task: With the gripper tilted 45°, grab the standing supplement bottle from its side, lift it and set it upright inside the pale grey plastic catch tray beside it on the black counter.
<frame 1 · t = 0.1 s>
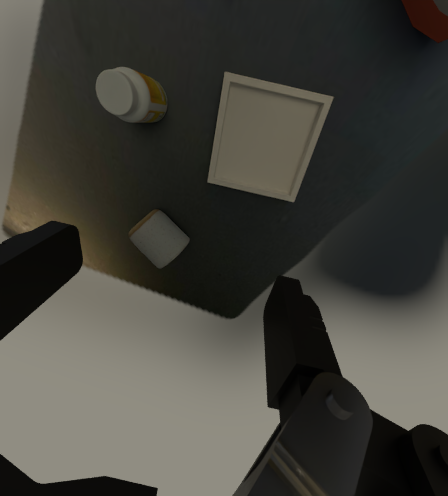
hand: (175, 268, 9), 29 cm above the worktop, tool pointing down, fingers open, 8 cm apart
ceramic mug: (163, 233, 43), on the worktop
supplement bottle: (150, 100, 32), on the worktop
catch tray: (262, 142, 33), on the worktop
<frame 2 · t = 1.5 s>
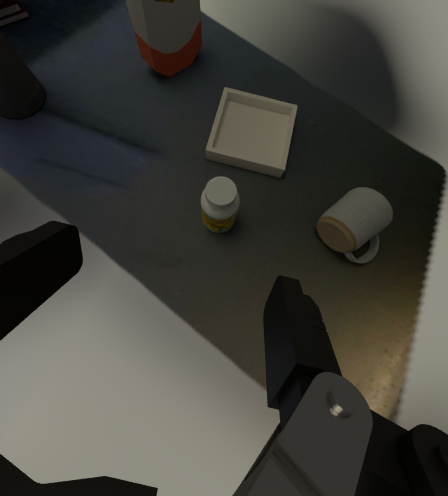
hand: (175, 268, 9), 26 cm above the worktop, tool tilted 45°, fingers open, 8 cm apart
ceramic mug: (343, 234, 38), on the worktop
supplement box: (4, 18, 44), on the worktop
supplement bottle: (218, 218, 37), on the worktop
french fries container: (175, 65, 44), on the worktop
catch tray: (250, 137, 41), on the worktop
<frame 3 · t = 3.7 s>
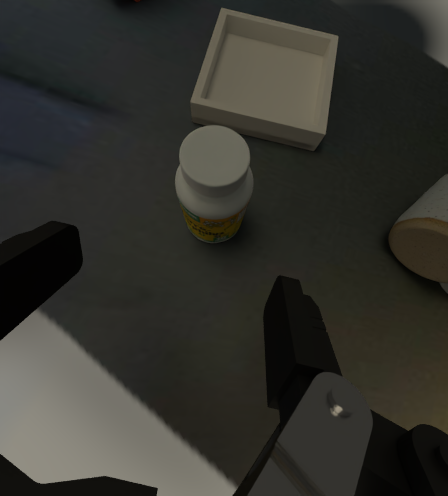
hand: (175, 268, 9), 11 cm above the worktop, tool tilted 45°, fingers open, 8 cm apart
ceramic mug: (427, 248, 23), on the worktop
supplement bottle: (213, 218, 22), on the worktop
catch tray: (264, 88, 26), on the worktop
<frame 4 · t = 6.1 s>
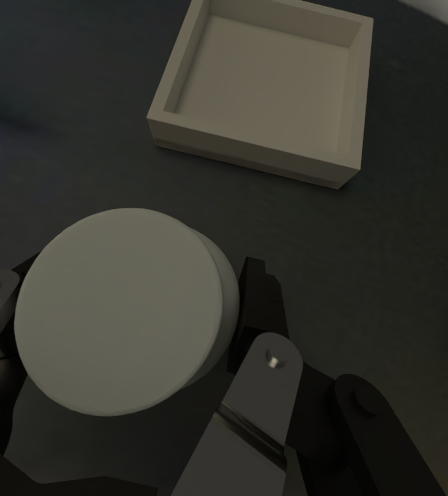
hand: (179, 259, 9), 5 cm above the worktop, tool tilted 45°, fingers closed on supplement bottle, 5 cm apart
supplement bottle: (182, 301, 14), on the worktop, touching gripper
catch tray: (263, 95, 18), on the worktop
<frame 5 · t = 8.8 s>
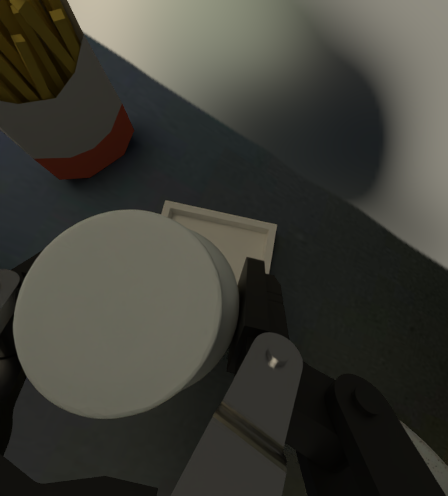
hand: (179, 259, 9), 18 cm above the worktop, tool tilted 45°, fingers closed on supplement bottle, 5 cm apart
ceramic mug: (368, 455, 24), on the worktop
supplement bottle: (182, 302, 14), point 13 cm above the worktop, touching gripper
french fries container: (99, 157, 30), on the worktop
catch tray: (208, 270, 27), on the worktop
when the fingers open (7 cm above the worktop, at t = 11.7 s): supplement bottle drops 1 cm, resting on catch tray.
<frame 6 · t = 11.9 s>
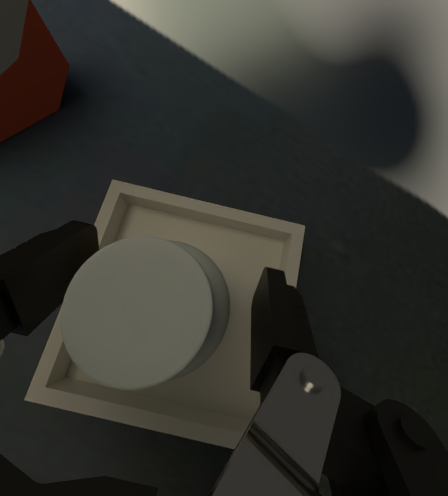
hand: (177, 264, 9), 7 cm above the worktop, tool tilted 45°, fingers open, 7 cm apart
supplement bottle: (183, 304, 15), point 1 cm above the worktop, touching catch tray
french fries container: (19, 113, 19), on the worktop
catch tray: (186, 301, 16), on the worktop
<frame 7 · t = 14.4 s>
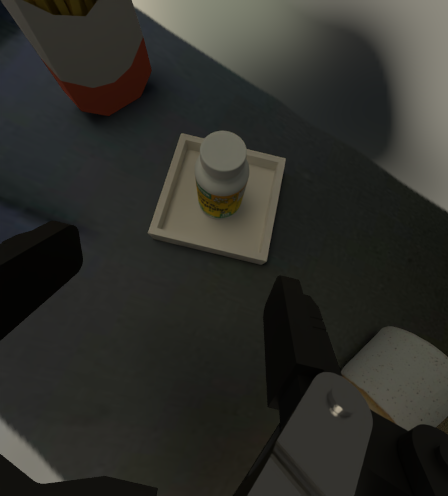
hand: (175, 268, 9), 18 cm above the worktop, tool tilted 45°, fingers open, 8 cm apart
ceramic mug: (376, 379, 25), on the worktop
supplement bottle: (219, 201, 28), point 1 cm above the worktop, touching catch tray
french fries container: (117, 98, 32), on the worktop
catch tray: (220, 202, 29), on the worktop
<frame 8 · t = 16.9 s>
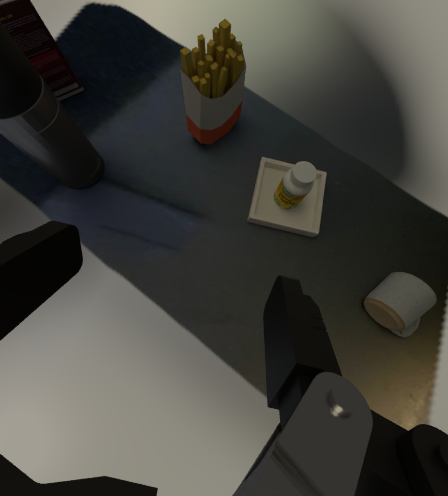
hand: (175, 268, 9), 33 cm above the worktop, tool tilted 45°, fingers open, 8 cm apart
ceramic mug: (385, 306, 42), on the worktop
supplement box: (62, 92, 49), on the worktop
supplement bottle: (285, 198, 46), point 1 cm above the worktop, touching catch tray
french fries container: (214, 133, 49), on the worktop
catch tray: (285, 199, 46), on the worktop
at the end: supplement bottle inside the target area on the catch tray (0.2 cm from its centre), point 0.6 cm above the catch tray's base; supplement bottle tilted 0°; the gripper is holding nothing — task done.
